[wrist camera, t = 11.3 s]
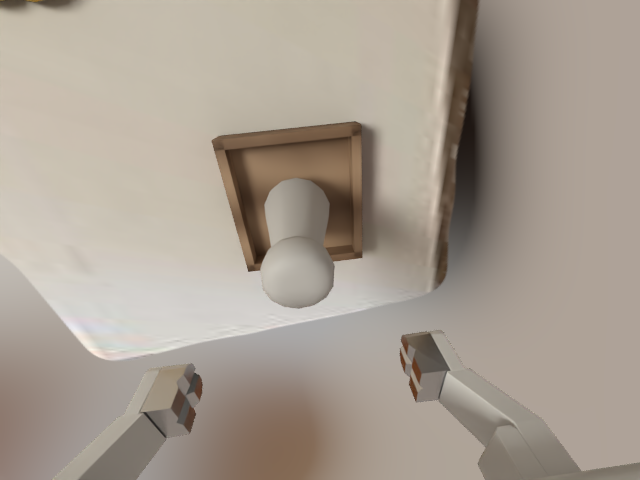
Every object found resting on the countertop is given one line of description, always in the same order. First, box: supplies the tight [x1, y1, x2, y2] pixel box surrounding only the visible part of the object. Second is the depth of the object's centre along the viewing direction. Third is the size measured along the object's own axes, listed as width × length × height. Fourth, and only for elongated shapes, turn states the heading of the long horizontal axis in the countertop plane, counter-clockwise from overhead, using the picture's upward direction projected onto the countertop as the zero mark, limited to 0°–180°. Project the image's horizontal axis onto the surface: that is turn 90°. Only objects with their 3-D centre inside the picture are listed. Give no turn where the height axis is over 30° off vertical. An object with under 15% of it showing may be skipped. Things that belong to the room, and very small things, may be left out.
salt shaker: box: [260, 178, 334, 308], centre depth 20 cm, size 6×6×13 cm
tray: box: [212, 122, 362, 272], centre depth 25 cm, size 13×12×2 cm
